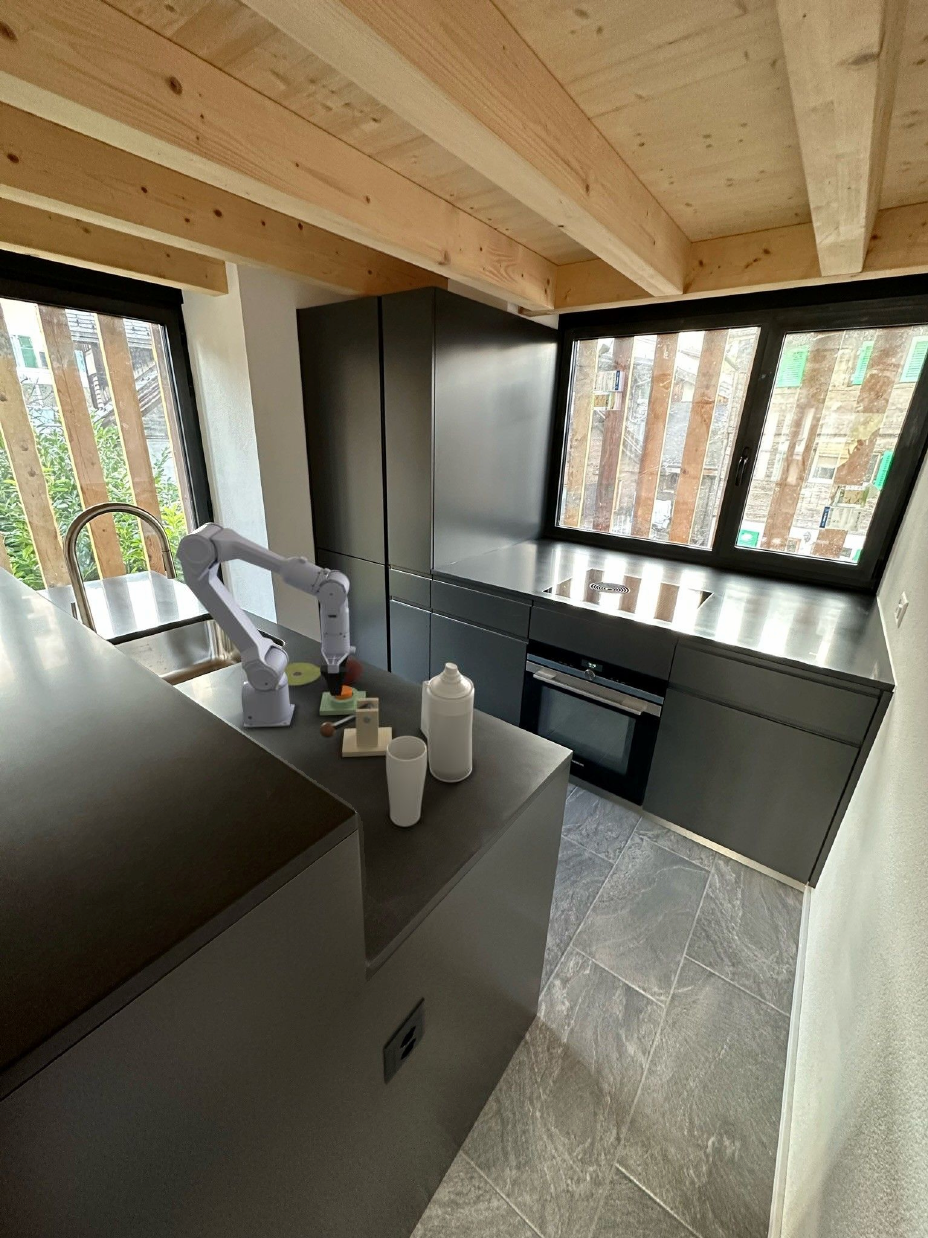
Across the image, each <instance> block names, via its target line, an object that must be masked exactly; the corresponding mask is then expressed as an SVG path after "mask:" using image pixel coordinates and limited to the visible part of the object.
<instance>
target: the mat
mask: <svg viewBox="0 0 928 1238" xmlns="http://www.w3.org/2000/svg"><path fill="white" fill-rule="evenodd" d="M284 672H285V674H286V676H287V678H288V686H302V685H305V684H309V683H312V682H314V681H316V680H317V679H319V678H320V676H321V673H320V667H318V666H317V665H315V664H313V663H310V662H294V663H293V662H292V663H288V664H287V666H286V667H285V669H284Z"/></svg>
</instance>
